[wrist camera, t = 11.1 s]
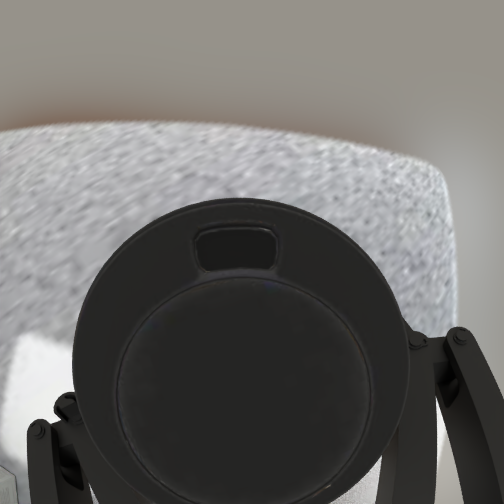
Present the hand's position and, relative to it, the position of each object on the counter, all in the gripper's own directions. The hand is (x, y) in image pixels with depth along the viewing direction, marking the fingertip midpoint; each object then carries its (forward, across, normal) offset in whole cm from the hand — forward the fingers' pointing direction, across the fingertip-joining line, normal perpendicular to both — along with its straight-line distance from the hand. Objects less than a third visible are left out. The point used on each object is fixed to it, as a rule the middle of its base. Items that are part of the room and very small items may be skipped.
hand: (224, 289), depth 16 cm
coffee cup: (+2, 0, -7) cm, 7 cm away
